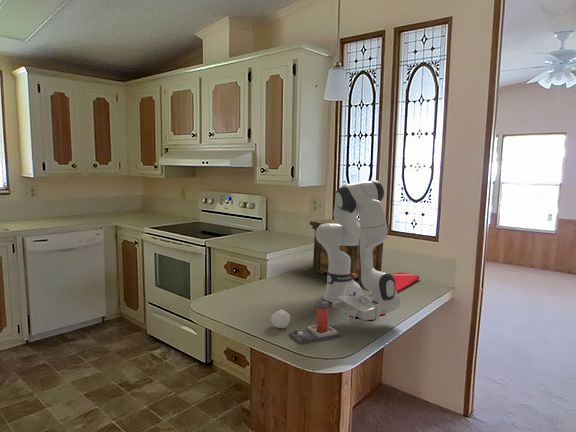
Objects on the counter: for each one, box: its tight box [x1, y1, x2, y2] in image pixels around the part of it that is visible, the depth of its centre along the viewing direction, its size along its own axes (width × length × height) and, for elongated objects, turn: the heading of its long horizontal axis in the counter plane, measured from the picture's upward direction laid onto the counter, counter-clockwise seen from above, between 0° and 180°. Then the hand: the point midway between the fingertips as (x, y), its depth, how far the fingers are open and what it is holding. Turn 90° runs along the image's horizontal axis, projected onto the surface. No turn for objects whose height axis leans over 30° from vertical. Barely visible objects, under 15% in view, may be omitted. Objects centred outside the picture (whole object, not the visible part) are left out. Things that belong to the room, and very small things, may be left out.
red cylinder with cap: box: [316, 299, 330, 333], centre depth 166 cm, size 4×4×12 cm
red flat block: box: [391, 271, 420, 294], centre depth 242 cm, size 16×41×4 cm, turn 143°
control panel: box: [288, 324, 343, 345], centre depth 165 cm, size 19×9×2 cm, turn 117°
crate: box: [309, 218, 391, 282], centre depth 259 cm, size 35×35×33 cm
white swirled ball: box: [270, 309, 291, 329], centre depth 171 cm, size 8×8×8 cm
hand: (339, 309), depth 169 cm, fingers open, 8 cm apart
